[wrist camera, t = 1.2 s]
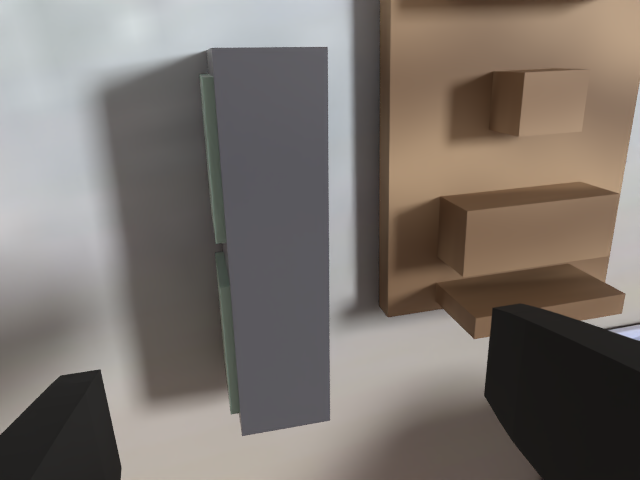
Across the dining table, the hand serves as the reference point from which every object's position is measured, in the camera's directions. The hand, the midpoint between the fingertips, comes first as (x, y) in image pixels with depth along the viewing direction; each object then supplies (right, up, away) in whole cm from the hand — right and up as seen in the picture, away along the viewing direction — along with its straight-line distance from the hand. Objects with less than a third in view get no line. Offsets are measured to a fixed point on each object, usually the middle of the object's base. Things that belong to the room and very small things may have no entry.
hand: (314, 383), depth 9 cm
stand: (+7, +8, +10) cm, 15 cm away
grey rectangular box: (-2, +3, +9) cm, 10 cm away
